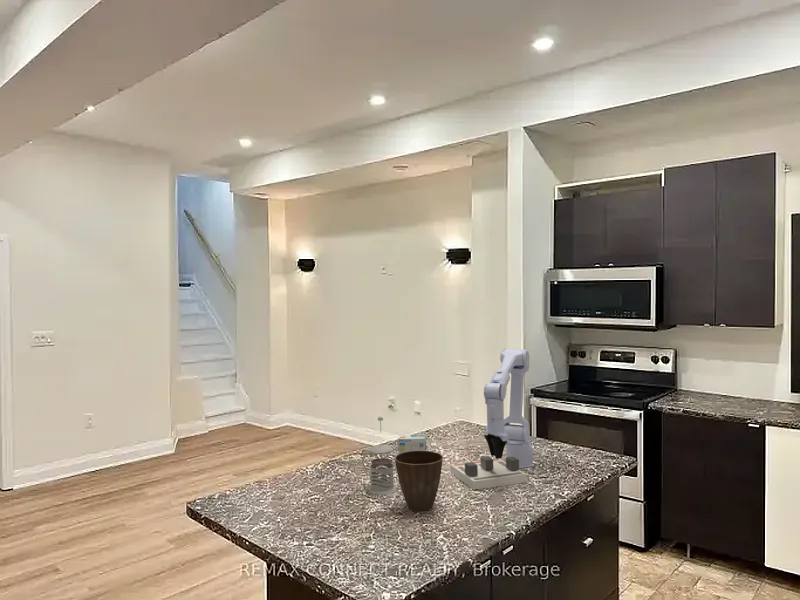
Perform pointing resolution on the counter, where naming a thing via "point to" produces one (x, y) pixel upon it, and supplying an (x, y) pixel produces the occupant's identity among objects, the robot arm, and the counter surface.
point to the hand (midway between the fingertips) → (496, 456)
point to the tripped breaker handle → (487, 463)
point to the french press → (381, 470)
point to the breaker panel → (489, 473)
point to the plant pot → (419, 478)
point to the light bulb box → (411, 443)
